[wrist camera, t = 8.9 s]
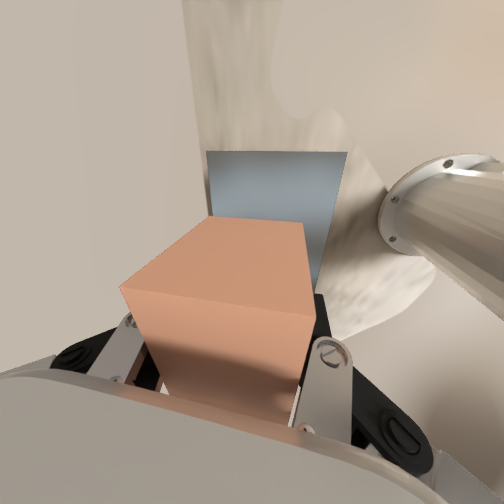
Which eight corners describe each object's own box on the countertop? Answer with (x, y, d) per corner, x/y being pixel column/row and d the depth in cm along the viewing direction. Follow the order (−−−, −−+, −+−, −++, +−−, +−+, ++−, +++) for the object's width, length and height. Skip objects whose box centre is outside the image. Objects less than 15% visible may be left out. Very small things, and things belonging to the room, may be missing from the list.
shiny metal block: (243, 151, 24) (206, 151, 13) (322, 151, 22) (347, 152, 12) (245, 244, 31) (220, 291, 20) (305, 250, 29) (311, 305, 19)
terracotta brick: (209, 215, 10) (118, 286, 5) (302, 222, 9) (316, 317, 4) (221, 316, 14) (178, 414, 9) (286, 327, 13) (282, 442, 8)
